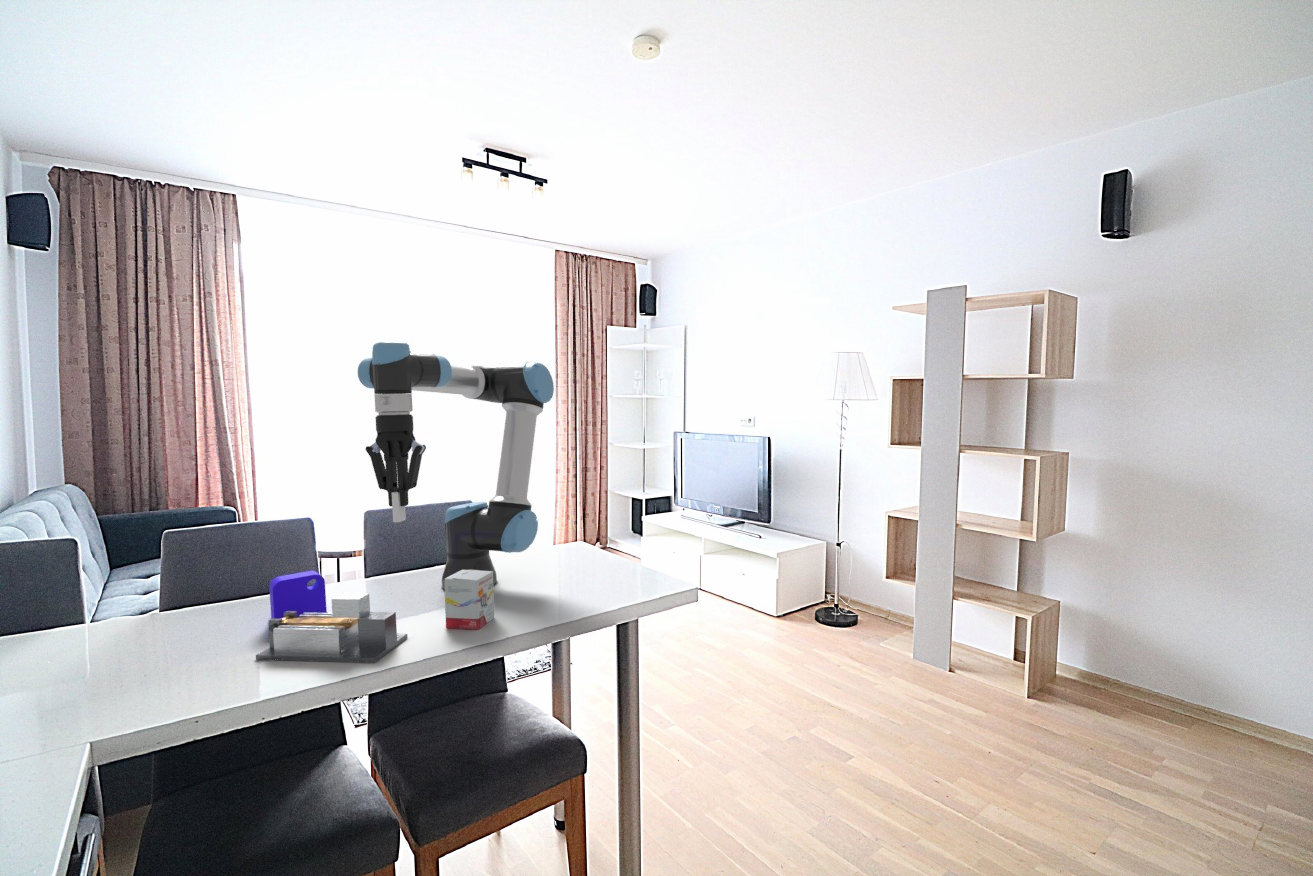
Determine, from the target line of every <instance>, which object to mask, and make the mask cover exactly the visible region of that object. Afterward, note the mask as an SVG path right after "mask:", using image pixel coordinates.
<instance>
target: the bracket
mask: <svg viewBox="0 0 1313 876" xmlns="http://www.w3.org/2000/svg"><path fill="white" fill-rule="evenodd" d="M312 580H315V582H314V583H313V584H312V585H310V586H308V583H309V582H310V581H312ZM268 586H269V588H268V589H269V602H270V619H280V618H284V612H286V611H297V618H299V615H303V613H328V612H327V595H326V593H327V592H326V581H325V578H324V577H323V576H322V575H321V574H320V573H319V572H317V571H315V570H307V571H302V572H301V571H300V572H297V573H296V572H295V573H292V574H291V573H290V574H285V575H279V576H276V577H274V578H273V579H272V580H271V581H270V583H269V585H268Z"/></svg>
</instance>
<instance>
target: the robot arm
mask: <svg viewBox="0 0 1313 876" xmlns="http://www.w3.org/2000/svg"><path fill="white" fill-rule="evenodd" d="M357 377H358V380H359V382H360V383H361V385H363V387H365V388H368V389H373V390H374V391H373V392H374V410H375V413H378V415H375V418H374V419H375V431H376V433H377V435H376V438H375V442H374V443H372V444H371V445H367V446H366V447H365V451H366V453H367V454H368V455H369V457H370V461H371V465H372V467H373V471H374V475H375V479H376V483H377V486H378V488H379V489H380V490H383V491H386V492H387V496H388V506H389V507H391V510H392V523H401V522H404V521H406V519H407V517H406V516H407V515H406V513H407V512H406V506H409V491H410V490H411V489H413V488H416V487H417V484H418V479H419V473H420V470H421V469H420V468H421V464H422V457H423V454H424V453H425V451H426V449H427V446H426V444H421V443H419V442H418V441H416V437H415V435H414V416H413V414H411V413H412V411H413V409H414V408H413V397H412V393H413V391H417V392H425V393H426V392H428V393H438V394H439V393H441V394H452V395H462V396H463V397H464V398H465V399H469V400H477V401H485V402H490V403H494V404H495V403H497V404H501V407H502V408H503V410H504V411H505V413H506V414H505V420H504V421H505V422H504V429H503V436H502V437H503V438H502V443H501V444H502V445H501V453H500V459H499V460H500V461H499V467H498V475H497V484H496V490H495V495H494V496H493V497H492V498H491V499H490V500H489V502H486V501H476V502H470V503H469V502H467V503H464V504H458V505H453V506H451V507H449V508H447V510H445V521H444V529H445V543H446V563H445V566H444V569H443V573H442V576H441V588H442V589H444V590H445V583H444V580H445V578H447V577H449V576H451V575H453V574H455V573H457V572H459V571H461V570H480V571H493V585H495V584H496V583H498V582H497V578H498V577H497V572H496V569H495V566H494V564H493V561H492V558H491V556H490V552H491V551H494V552H504V553H509V554H510V553H522V552H524V551H526V550H527V549H528V548H530V546H531V545H532V544H533V542H534V541H535V538H536V536H537V533H538V529H539V520H537V519H538V517H537V514H536V513H535V512H534V511H532V503H531V502H530V501H529V500H528V494H529V493H528V492H529V486H530V485H529V483H530V474H531V465H532V459H533V450H534V442H535V433H536V425H537V417H538V415H540V414H541V413H543V411H544V404H546V403H548V402H551V399H552V398H553V397H554V391H555V390H554V389H555V388H554V387H555V386H554V380H553V377H552V375H551V372H550V370H549V369H548V367H546V365H544V364H543V363H541V362H536V361H535V362H531V361H524V362H511V363H496V364H487V365H473V364H471V365H467V366H465V367H462V366H461V367H460V366H454V365H451V363H450V361H449V360H448V359H447V358H446V357H445V356H444V355H443V356H442V355H439V354H438V355H436V354H435V353H433V354H426V353H425V354H424V353H411V349H410V345H409V344H408V343H407V342H401V341H379V342H375V343H374V344H373V345H372V354H371V357H367V358H364V359H363V360H362V361H360V363H359V364H358V367H357ZM381 451H382V453H383V456H382V453H381ZM410 451H411V452H412V453H411V456H410V461H409V453H410ZM408 461H409V463H408ZM384 462H385V463H384Z"/></svg>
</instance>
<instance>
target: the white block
mask: <svg viewBox="0 0 1313 876" xmlns="http://www.w3.org/2000/svg"><path fill="white" fill-rule="evenodd" d="M331 611H332V612H331V613H332V617H333V618H361V617H362V616H364V615H365V614H367V613H369V612H371V600H370V593H369V592H368V593H366V592H363V593H362V592H350V593H349V592H342V593H340V594H338V595H336V596H335V597H333V598H331Z"/></svg>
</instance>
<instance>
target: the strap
mask: <svg viewBox="0 0 1313 876" xmlns="http://www.w3.org/2000/svg"><path fill="white" fill-rule="evenodd" d="M280 619H282V625H289V626H342V627H352V626H354V625H356V624H357V623H358V620H357V619H358V618H291V617H290V616H286V617H284V618H280Z"/></svg>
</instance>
